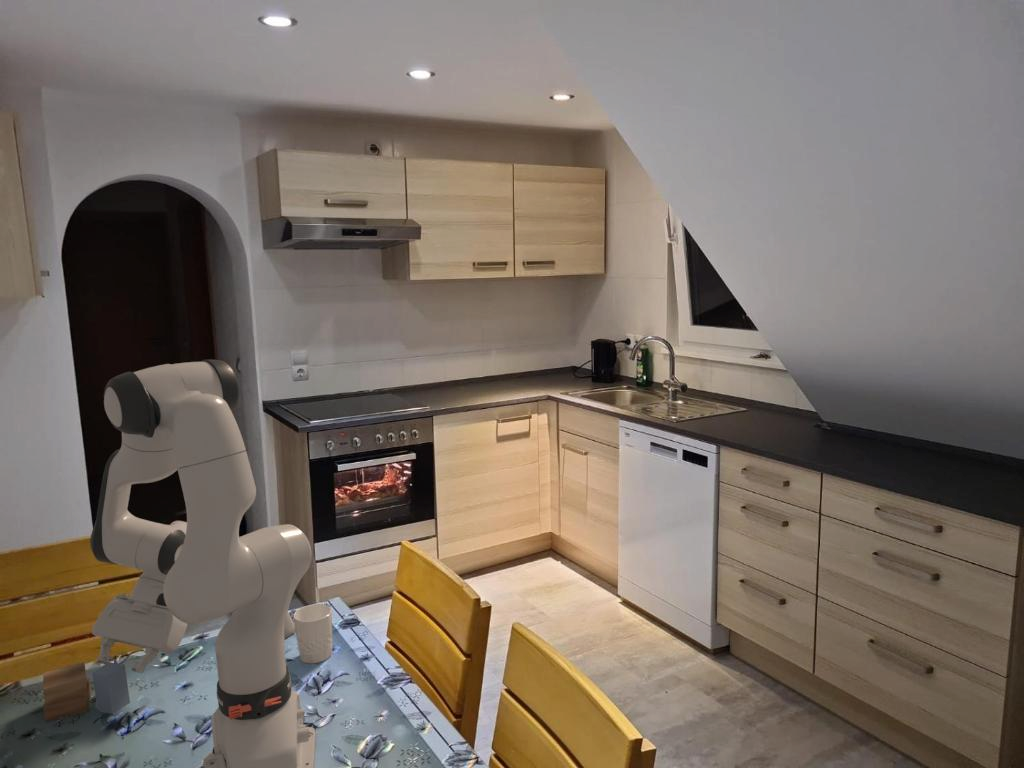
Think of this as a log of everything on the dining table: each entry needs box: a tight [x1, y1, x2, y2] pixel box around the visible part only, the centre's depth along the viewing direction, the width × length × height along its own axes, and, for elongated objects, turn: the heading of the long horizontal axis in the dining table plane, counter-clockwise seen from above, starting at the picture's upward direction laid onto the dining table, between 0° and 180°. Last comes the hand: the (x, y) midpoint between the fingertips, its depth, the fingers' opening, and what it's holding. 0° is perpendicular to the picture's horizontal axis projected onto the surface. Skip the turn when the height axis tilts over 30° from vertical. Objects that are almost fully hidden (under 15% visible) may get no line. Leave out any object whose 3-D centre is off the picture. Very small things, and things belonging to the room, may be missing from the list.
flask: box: [284, 611, 296, 640], centre depth 172 cm, size 7×7×10 cm
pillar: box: [91, 661, 131, 715], centre depth 146 cm, size 4×4×8 cm
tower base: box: [43, 678, 93, 722], centre depth 147 cm, size 7×7×4 cm
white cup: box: [293, 603, 333, 664], centre depth 162 cm, size 8×8×10 cm
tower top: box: [42, 661, 88, 706], centre depth 146 cm, size 7×7×4 cm
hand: (119, 667), depth 148 cm, fingers open, 8 cm apart
